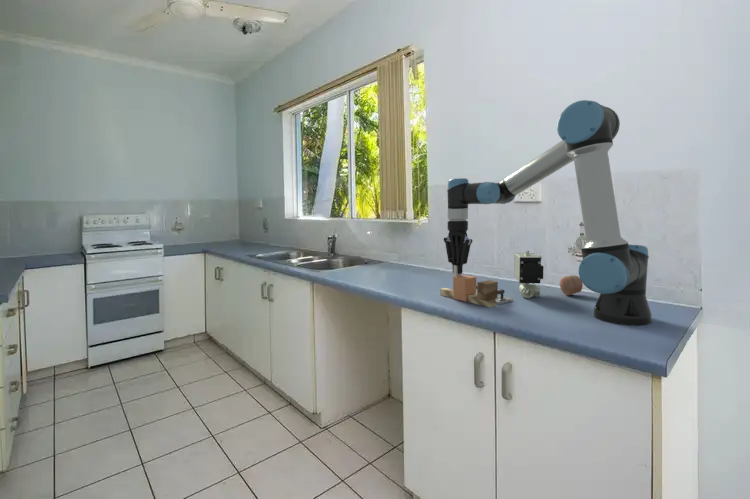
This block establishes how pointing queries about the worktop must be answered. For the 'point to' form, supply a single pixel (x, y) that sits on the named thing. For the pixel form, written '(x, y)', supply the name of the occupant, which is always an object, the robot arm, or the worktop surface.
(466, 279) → the block
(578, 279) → the tan rounded lump
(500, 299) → the flange strip
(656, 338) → the worktop surface
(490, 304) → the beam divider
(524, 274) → the ball valve
